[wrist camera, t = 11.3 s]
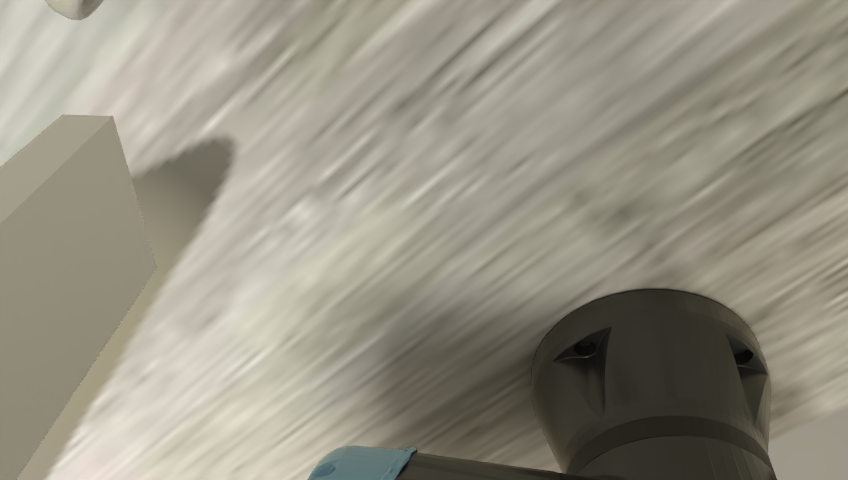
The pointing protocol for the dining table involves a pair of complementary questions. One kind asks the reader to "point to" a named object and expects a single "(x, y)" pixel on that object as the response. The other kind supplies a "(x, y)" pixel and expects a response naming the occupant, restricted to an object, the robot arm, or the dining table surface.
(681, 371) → the robot arm
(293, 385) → the dining table surface
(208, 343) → the dining table surface
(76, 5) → the teacup
